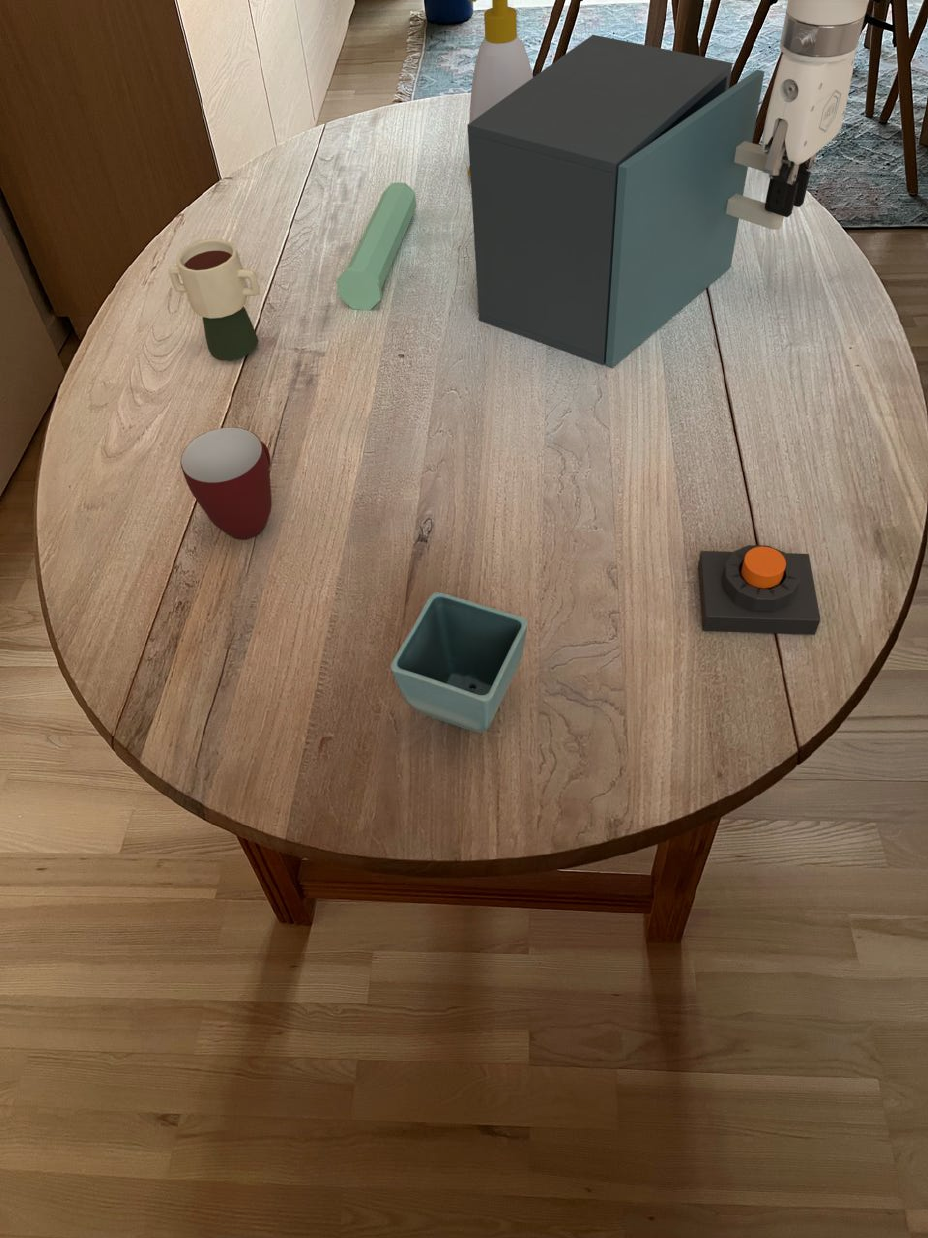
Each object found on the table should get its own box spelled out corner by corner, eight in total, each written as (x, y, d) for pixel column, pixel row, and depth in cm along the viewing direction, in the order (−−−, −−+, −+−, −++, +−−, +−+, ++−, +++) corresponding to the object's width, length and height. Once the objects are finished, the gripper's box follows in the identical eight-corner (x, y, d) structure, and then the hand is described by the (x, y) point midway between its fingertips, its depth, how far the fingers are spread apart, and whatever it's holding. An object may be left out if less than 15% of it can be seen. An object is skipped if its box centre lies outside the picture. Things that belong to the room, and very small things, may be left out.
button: (779, 559, 87) (783, 546, 85) (784, 589, 84) (788, 576, 83) (739, 558, 87) (742, 545, 86) (742, 588, 85) (746, 575, 83)
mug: (233, 479, 103) (208, 407, 96) (302, 487, 102) (282, 414, 94) (196, 549, 97) (166, 478, 89) (269, 559, 96) (245, 487, 88)
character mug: (284, 335, 120) (260, 239, 109) (267, 370, 115) (240, 273, 105) (204, 330, 121) (173, 235, 111) (184, 364, 117) (150, 269, 107)
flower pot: (531, 679, 85) (530, 617, 78) (493, 760, 80) (489, 702, 73) (442, 651, 87) (433, 589, 80) (400, 727, 82) (387, 668, 75)
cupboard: (703, 259, 124) (732, 62, 105) (603, 365, 112) (615, 163, 93) (585, 224, 131) (592, 34, 112) (478, 320, 119) (467, 124, 100)
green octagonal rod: (388, 166, 132) (341, 261, 117) (427, 183, 133) (386, 280, 118) (377, 203, 137) (331, 300, 122) (416, 219, 138) (374, 317, 123)
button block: (804, 568, 90) (813, 540, 87) (815, 635, 86) (825, 607, 82) (697, 565, 92) (703, 537, 88) (702, 631, 87) (708, 603, 84)
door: (778, 284, 119) (822, 85, 101) (661, 390, 108) (686, 188, 89) (724, 264, 123) (756, 68, 104) (605, 364, 111) (618, 165, 93)
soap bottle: (451, 180, 141) (435, -21, 121) (499, 149, 146) (492, -49, 126) (510, 202, 136) (504, -5, 116) (558, 168, 141) (560, -35, 121)
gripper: (816, 69, 89) (777, 248, 104) (893, 12, 96) (846, 188, 111) (746, 51, 93) (718, 227, 107) (825, -3, 100) (788, 170, 114)
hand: (783, 206), depth 109 cm, fingers closed on door, 2 cm apart
